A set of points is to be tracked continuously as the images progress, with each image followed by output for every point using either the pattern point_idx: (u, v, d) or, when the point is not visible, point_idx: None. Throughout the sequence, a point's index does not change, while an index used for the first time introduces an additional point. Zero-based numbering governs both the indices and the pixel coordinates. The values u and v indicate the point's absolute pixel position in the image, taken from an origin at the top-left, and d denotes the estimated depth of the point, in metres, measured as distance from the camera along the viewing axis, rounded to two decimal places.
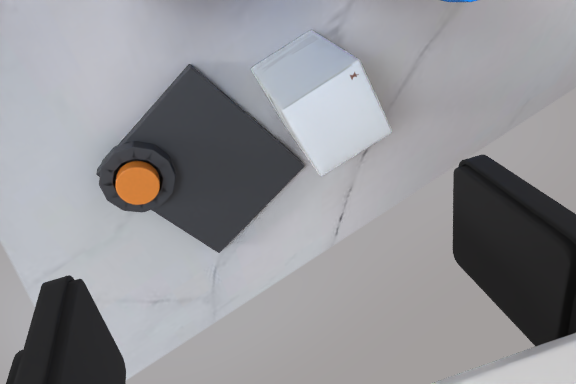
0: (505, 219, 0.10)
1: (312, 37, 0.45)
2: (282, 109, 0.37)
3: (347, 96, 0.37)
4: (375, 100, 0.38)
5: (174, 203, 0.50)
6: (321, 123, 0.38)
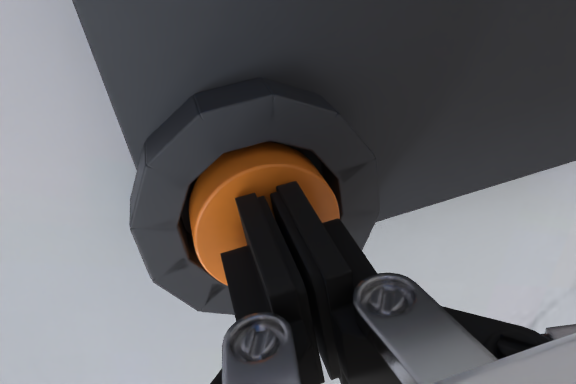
0: (292, 246, 0.11)
1: None
2: None
3: None
4: None
5: (400, 162, 0.16)
6: None
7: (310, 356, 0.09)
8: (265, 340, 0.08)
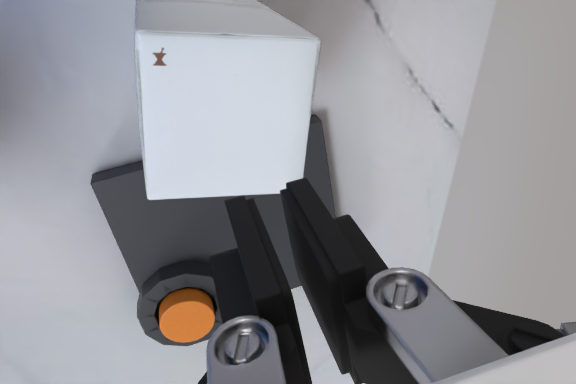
0: (303, 242, 0.11)
1: None
2: (147, 196, 0.21)
3: (191, 88, 0.19)
4: (236, 40, 0.19)
5: None
6: (211, 153, 0.20)
7: (295, 359, 0.09)
8: (249, 343, 0.08)
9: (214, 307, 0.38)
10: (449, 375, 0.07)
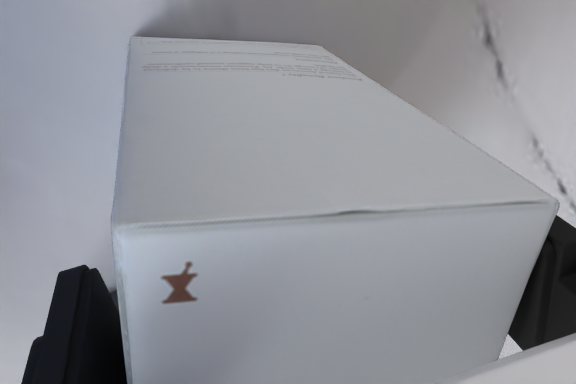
0: None
1: None
2: None
3: (256, 339, 0.07)
4: (374, 224, 0.07)
5: None
6: None
7: None
8: None
9: None
10: None
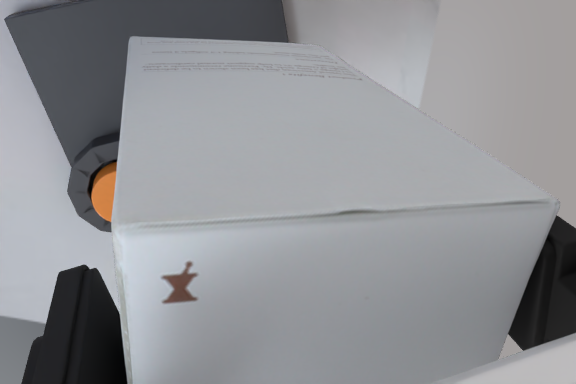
0: None
1: None
2: None
3: (257, 339, 0.07)
4: (375, 224, 0.07)
5: None
6: None
7: None
8: None
9: None
10: None
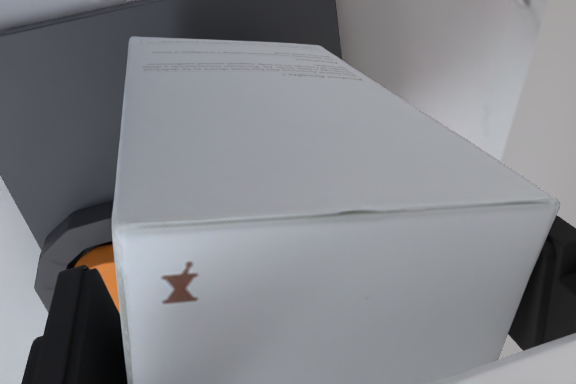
0: None
1: None
2: None
3: (257, 339, 0.07)
4: (375, 224, 0.07)
5: None
6: None
7: None
8: None
9: None
10: None
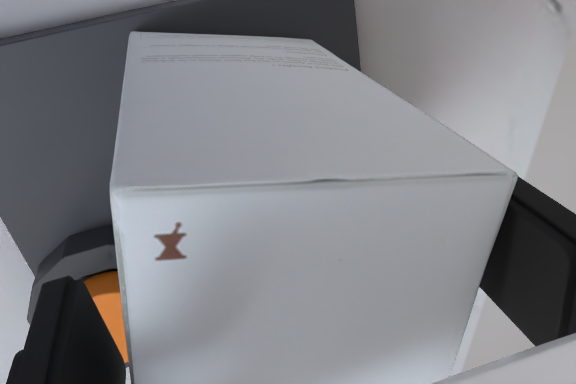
0: (505, 219, 0.10)
1: None
2: None
3: (240, 296, 0.08)
4: (345, 191, 0.08)
5: None
6: None
7: None
8: None
9: None
10: None
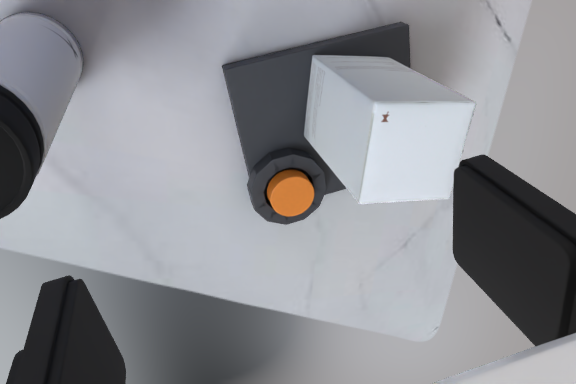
0: (505, 219, 0.10)
1: (319, 71, 0.38)
2: (358, 202, 0.32)
3: (399, 135, 0.30)
4: (428, 105, 0.30)
5: None
6: (402, 174, 0.32)
7: None
8: None
9: None
10: None
